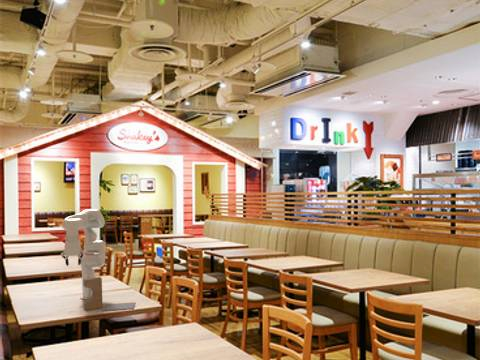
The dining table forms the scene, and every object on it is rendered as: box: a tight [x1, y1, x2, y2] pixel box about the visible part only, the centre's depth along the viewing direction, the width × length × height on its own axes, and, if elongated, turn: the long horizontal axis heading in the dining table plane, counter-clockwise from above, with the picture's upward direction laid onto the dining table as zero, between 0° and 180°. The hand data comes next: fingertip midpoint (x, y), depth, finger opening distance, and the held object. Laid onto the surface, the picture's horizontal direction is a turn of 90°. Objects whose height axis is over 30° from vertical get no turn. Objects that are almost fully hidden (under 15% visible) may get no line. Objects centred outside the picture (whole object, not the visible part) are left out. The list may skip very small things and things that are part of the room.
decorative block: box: [83, 276, 104, 311], centre depth 313 cm, size 11×6×20 cm, turn 119°
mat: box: [101, 301, 136, 312], centre depth 313 cm, size 16×20×1 cm
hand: (73, 265), depth 311 cm, fingers open, 6 cm apart
